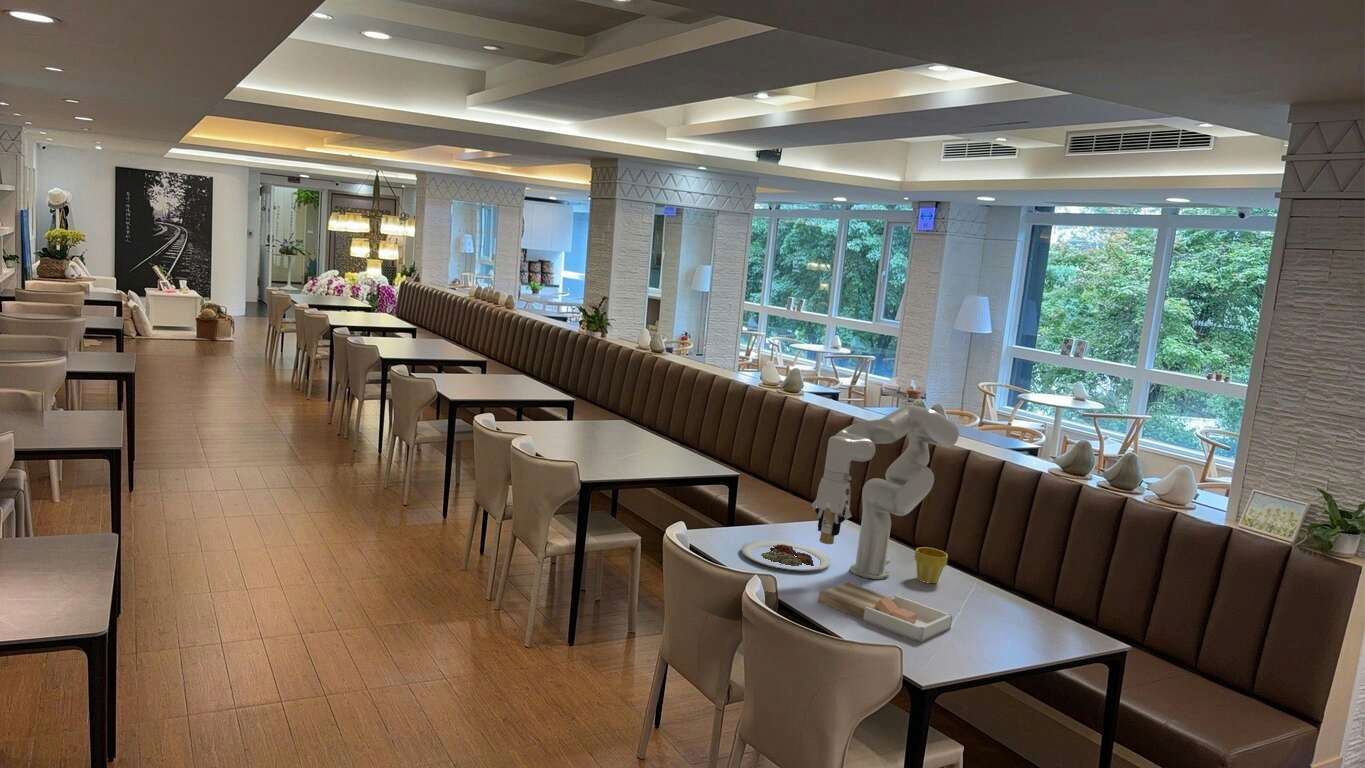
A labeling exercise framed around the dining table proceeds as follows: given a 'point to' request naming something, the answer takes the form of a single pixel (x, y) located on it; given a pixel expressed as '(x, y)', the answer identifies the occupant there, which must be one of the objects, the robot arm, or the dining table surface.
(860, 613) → the grooved oak block
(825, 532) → the sprinkles bottle
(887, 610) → the rear tile
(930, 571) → the plant pot
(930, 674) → the dining table surface
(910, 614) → the front tile
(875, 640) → the dining table surface
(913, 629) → the box
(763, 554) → the plated food
